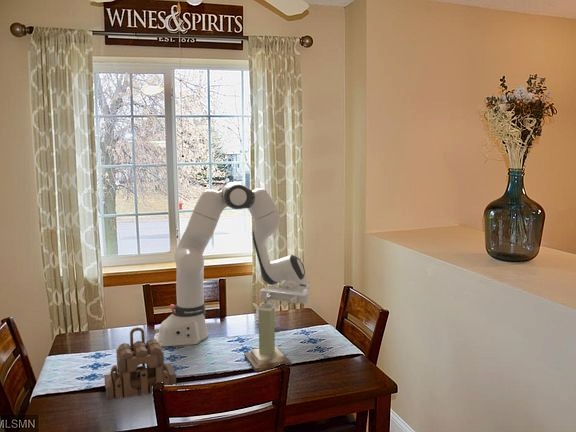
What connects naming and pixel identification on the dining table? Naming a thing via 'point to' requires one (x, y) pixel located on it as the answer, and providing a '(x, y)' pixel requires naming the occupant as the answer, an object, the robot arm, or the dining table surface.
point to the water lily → (258, 314)
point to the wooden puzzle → (138, 368)
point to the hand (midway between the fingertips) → (278, 300)
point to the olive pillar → (266, 329)
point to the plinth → (266, 366)
